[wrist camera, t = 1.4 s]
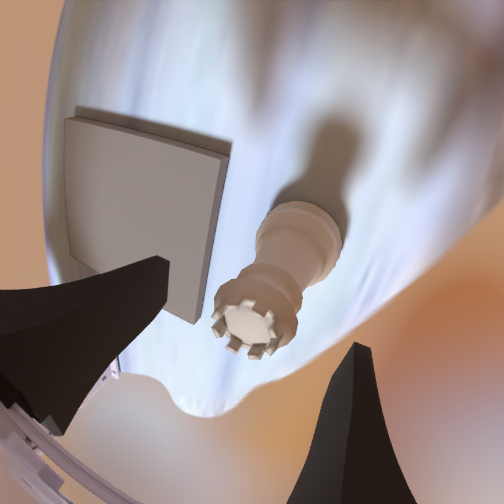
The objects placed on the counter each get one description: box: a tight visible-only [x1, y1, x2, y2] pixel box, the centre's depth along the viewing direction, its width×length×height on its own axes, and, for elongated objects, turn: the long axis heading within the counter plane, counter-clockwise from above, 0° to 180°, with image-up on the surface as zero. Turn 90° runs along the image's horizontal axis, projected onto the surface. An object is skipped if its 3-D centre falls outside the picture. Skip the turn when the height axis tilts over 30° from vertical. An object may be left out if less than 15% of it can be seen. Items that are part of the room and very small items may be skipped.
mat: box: [64, 116, 229, 325], centre depth 21 cm, size 12×13×1 cm
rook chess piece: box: [211, 201, 342, 360], centre depth 14 cm, size 4×4×8 cm
